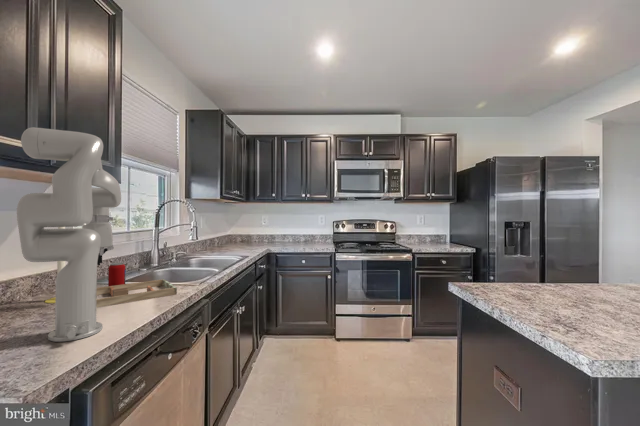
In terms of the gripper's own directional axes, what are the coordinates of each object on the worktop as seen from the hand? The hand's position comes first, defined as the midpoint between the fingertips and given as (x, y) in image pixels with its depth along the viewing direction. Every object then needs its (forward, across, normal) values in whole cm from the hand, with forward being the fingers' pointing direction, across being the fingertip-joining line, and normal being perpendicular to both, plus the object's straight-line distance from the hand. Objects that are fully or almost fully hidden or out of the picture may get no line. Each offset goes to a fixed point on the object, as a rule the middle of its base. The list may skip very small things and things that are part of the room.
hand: (97, 265), depth 118 cm
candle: (+15, +11, -14) cm, 23 cm away
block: (+15, -8, 0) cm, 17 cm away
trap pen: (+15, -13, -2) cm, 20 cm away
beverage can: (+15, -9, -20) cm, 27 cm away
